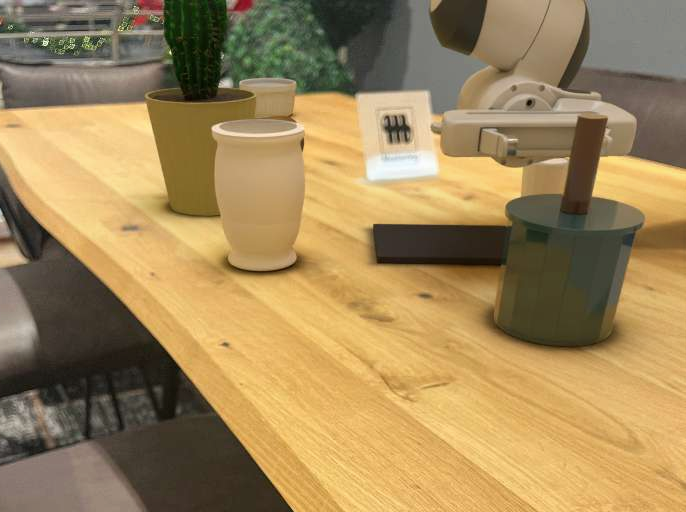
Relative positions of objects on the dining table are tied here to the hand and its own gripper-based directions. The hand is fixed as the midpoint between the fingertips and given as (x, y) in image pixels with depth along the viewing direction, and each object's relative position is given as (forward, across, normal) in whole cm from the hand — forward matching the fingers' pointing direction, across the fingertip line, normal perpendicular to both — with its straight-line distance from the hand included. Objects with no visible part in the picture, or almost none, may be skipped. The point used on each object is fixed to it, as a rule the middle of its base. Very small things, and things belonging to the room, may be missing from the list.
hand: (557, 148), depth 75 cm
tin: (-62, -29, +15) cm, 70 cm away
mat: (-18, -6, +15) cm, 24 cm away
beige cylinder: (-35, +12, +15) cm, 40 cm away
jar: (-13, -29, +15) cm, 36 cm away
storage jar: (+7, 0, +15) cm, 17 cm away
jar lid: (+7, 0, +5) cm, 9 cm away
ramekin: (-118, -27, +15) cm, 122 cm away
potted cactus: (-39, -37, +15) cm, 56 cm away
